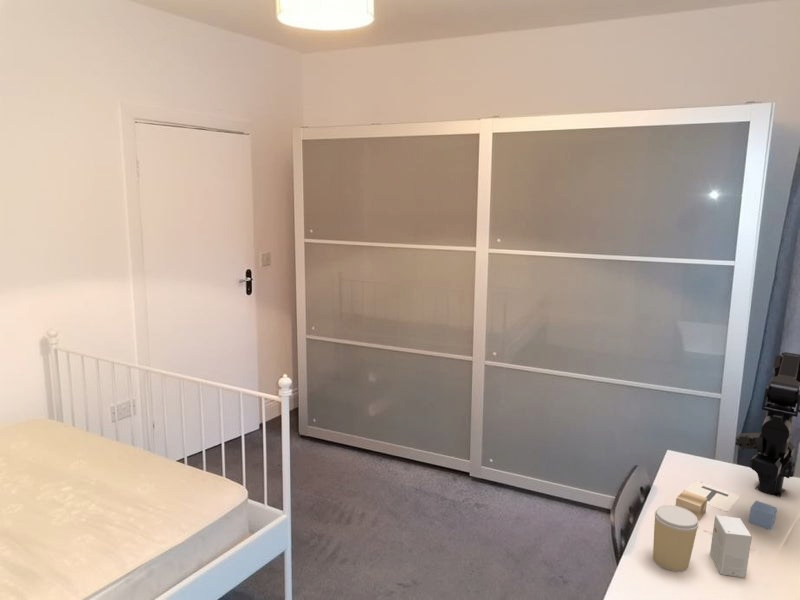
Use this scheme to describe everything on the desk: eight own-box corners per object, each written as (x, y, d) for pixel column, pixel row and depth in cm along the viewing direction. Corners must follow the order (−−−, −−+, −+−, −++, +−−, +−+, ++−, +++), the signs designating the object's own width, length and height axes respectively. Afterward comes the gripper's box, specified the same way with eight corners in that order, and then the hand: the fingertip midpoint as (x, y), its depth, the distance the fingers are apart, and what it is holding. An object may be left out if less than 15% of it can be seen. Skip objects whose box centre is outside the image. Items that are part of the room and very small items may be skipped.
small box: (745, 578, 138) (752, 536, 135) (719, 574, 139) (725, 533, 137) (734, 557, 145) (740, 517, 143) (709, 553, 146) (715, 514, 144)
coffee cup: (692, 556, 145) (698, 510, 143) (692, 578, 137) (699, 530, 134) (650, 545, 149) (656, 500, 147) (648, 566, 141) (654, 519, 138)
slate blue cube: (753, 517, 163) (755, 500, 162) (774, 524, 160) (777, 507, 159) (748, 524, 160) (750, 507, 159) (769, 532, 156) (772, 514, 155)
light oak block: (681, 506, 168) (684, 490, 167) (705, 515, 164) (707, 498, 163) (674, 514, 163) (676, 497, 162) (697, 523, 159) (700, 506, 158)
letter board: (695, 482, 181) (696, 480, 181) (740, 497, 173) (740, 496, 173) (681, 496, 173) (681, 494, 172) (727, 513, 164) (727, 511, 164)
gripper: (751, 411, 167) (743, 464, 170) (731, 430, 153) (722, 487, 156) (799, 423, 159) (789, 478, 162) (782, 444, 146) (772, 503, 149)
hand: (767, 486), depth 158 cm, fingers open, 9 cm apart
